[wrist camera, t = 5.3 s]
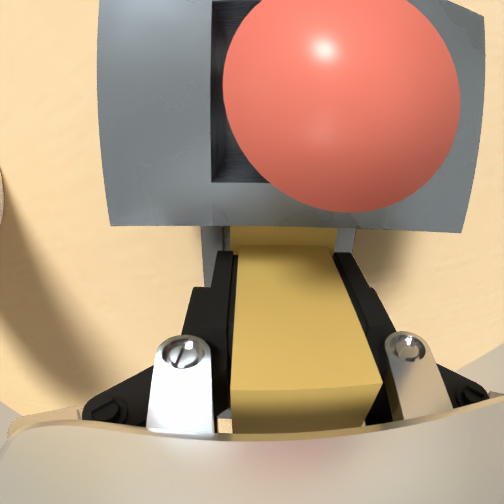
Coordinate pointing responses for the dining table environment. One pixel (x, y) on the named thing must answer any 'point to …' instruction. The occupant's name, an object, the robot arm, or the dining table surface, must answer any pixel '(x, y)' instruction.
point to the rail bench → (221, 136)
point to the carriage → (296, 336)
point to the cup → (1, 198)
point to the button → (341, 99)
